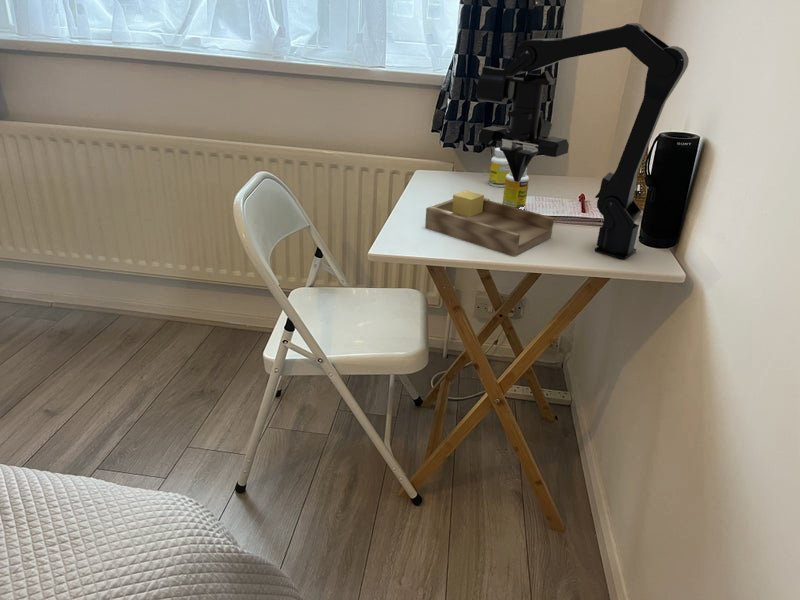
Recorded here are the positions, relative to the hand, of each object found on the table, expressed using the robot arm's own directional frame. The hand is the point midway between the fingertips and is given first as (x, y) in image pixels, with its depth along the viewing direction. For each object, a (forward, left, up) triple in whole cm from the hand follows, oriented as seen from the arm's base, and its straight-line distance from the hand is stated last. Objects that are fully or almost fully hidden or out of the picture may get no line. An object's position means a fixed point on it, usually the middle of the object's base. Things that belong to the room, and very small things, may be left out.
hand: (517, 181), depth 130 cm
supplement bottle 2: (+8, -13, -11) cm, 19 cm away
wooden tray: (+3, +6, -11) cm, 13 cm away
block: (+11, +2, -9) cm, 14 cm away
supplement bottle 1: (+22, -28, -11) cm, 37 cm away
